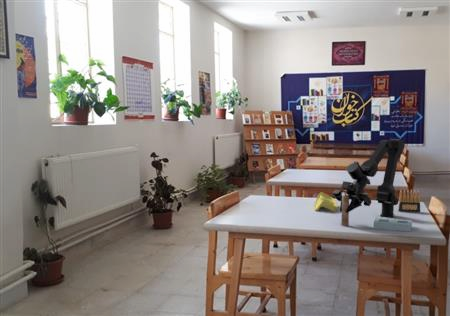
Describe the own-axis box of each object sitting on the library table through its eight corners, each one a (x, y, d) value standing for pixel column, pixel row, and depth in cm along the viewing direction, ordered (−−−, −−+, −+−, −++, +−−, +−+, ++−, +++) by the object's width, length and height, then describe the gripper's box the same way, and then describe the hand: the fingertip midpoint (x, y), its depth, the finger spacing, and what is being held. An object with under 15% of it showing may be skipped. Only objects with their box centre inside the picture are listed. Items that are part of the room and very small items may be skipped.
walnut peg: (342, 224, 230) (342, 194, 229) (348, 224, 229) (349, 195, 228) (340, 225, 227) (341, 196, 226) (348, 226, 226) (348, 196, 225)
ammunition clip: (398, 211, 259) (399, 189, 258) (398, 211, 261) (399, 188, 260) (420, 212, 257) (421, 189, 256) (419, 211, 259) (420, 189, 258)
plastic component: (338, 207, 259) (321, 199, 259) (331, 219, 260) (314, 211, 260) (334, 198, 278) (318, 190, 278) (328, 209, 279) (312, 201, 280)
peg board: (375, 223, 231) (375, 217, 230) (411, 226, 225) (412, 220, 224) (373, 228, 222) (373, 222, 221) (411, 231, 216) (411, 224, 215)
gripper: (335, 173, 236) (319, 198, 230) (368, 177, 221) (352, 204, 215) (345, 187, 241) (330, 212, 236) (378, 192, 227) (363, 219, 221)
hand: (343, 211), depth 227 cm, fingers closed on walnut peg, 3 cm apart
